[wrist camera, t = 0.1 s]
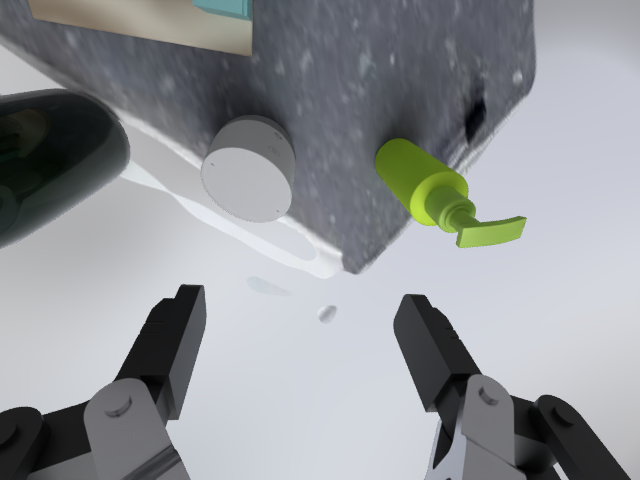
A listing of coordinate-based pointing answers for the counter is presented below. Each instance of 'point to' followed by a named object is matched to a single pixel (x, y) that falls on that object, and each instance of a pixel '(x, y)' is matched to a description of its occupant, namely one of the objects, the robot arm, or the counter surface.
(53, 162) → the beer bottle
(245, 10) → the socket
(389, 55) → the counter surface
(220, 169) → the smart speaker
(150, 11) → the board
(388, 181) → the soap dispenser
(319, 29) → the counter surface
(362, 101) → the counter surface
